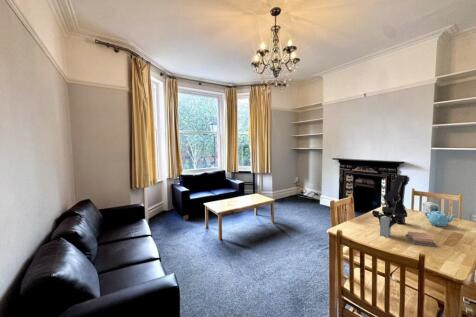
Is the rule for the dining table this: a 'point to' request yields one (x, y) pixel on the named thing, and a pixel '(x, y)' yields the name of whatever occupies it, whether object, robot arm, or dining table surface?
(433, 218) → the teapot
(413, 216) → the dining table surface
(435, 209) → the light bulb box
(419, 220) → the dining table surface
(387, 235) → the column brick
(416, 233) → the pinkish brown square block
